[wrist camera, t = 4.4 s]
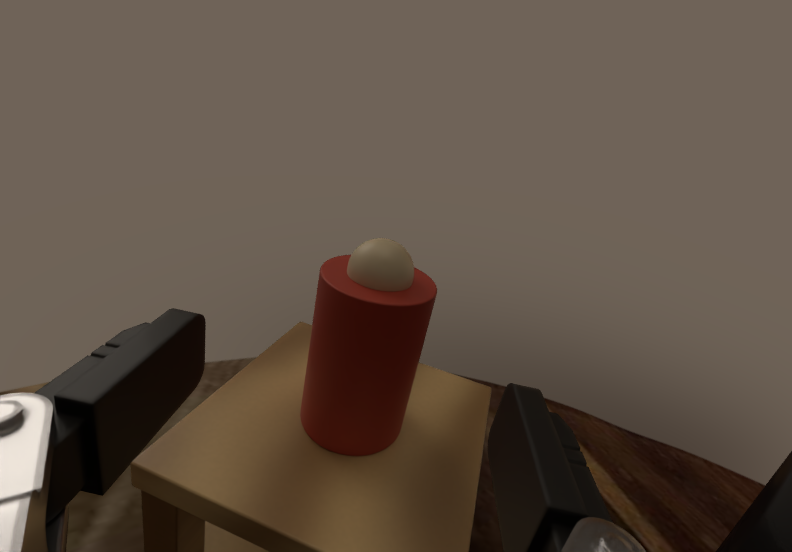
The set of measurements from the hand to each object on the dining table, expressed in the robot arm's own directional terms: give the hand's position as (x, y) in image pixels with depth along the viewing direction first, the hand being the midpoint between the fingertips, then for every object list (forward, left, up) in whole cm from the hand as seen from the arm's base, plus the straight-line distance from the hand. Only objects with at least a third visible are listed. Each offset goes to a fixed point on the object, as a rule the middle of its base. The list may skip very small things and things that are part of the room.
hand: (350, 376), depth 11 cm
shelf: (+1, -6, -17) cm, 17 cm away
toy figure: (+1, -6, -7) cm, 9 cm away
